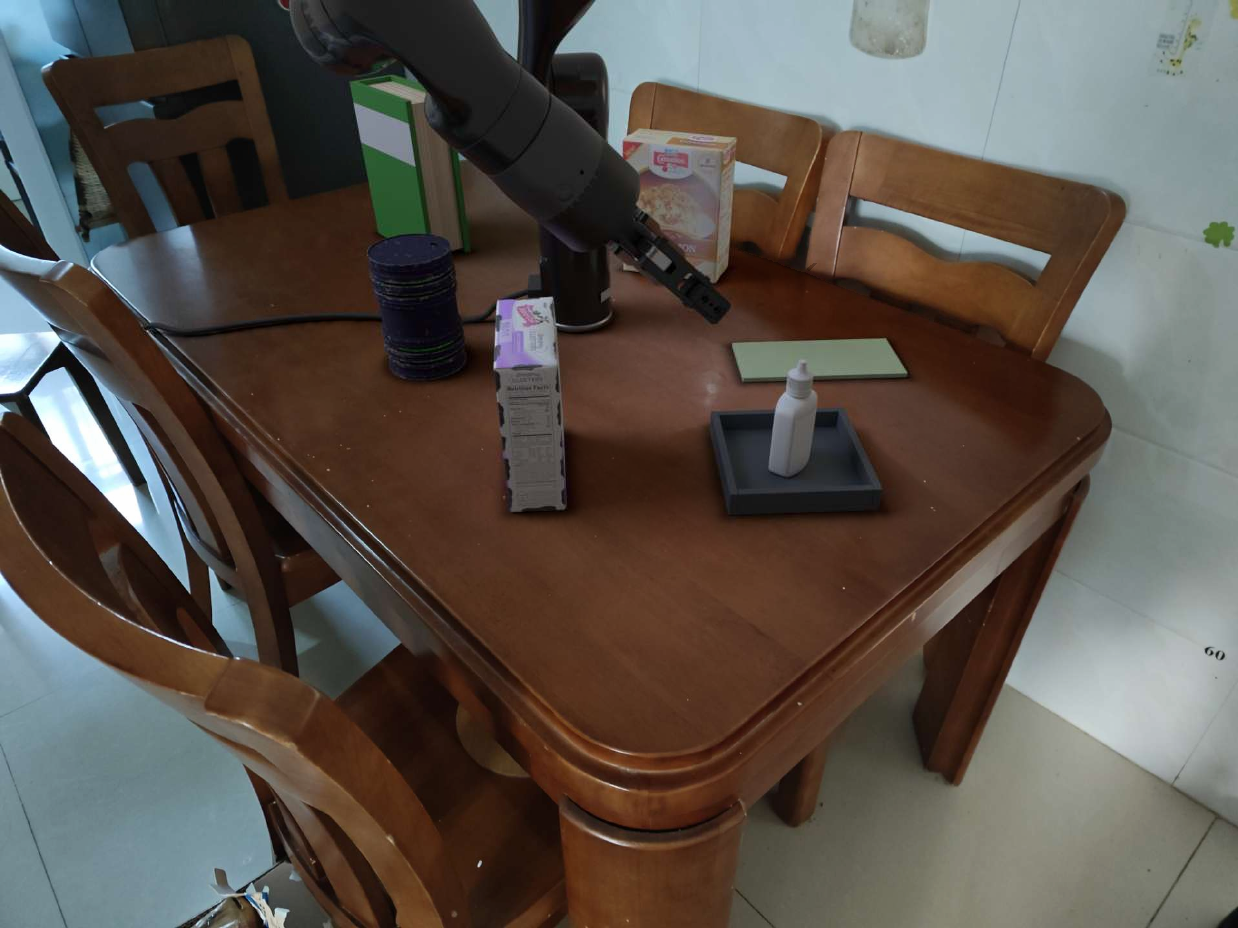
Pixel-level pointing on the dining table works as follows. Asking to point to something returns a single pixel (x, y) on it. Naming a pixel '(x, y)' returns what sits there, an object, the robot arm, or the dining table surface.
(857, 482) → the tray
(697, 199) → the coffeecake box
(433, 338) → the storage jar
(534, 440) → the candy box
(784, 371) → the mat
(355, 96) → the hardback book
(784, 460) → the eye dropper bottle
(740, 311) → the dining table surface
